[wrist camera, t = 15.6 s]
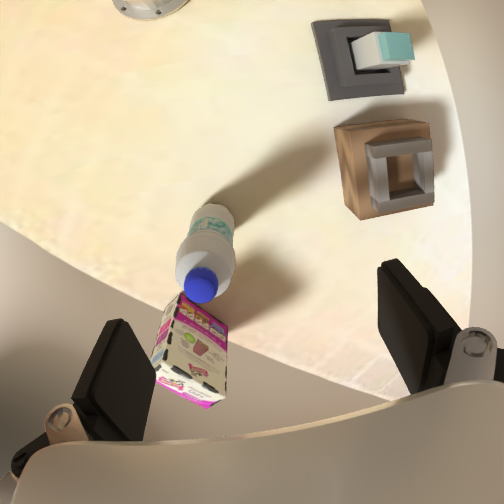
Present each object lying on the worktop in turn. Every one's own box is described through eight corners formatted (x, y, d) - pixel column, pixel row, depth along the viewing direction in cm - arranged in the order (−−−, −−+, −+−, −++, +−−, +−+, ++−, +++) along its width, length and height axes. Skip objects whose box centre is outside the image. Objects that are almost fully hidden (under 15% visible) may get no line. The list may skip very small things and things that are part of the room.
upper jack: (333, 127, 42) (357, 134, 33) (404, 118, 41) (440, 125, 32) (344, 204, 47) (368, 228, 38) (411, 191, 47) (444, 212, 38)
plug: (345, 45, 36) (380, 28, 25) (371, 44, 36) (411, 30, 25) (351, 71, 37) (387, 62, 27) (376, 69, 37) (418, 62, 27)
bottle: (186, 204, 46) (154, 271, 28) (229, 193, 46) (224, 255, 28) (199, 244, 49) (179, 326, 31) (241, 234, 49) (243, 314, 31)
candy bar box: (163, 308, 54) (143, 376, 40) (180, 291, 53) (162, 360, 38) (211, 341, 58) (206, 411, 43) (229, 326, 57) (228, 397, 42)
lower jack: (310, 23, 35) (317, 16, 32) (385, 21, 34) (397, 16, 31) (328, 100, 40) (336, 100, 37) (401, 94, 40) (414, 94, 36)
